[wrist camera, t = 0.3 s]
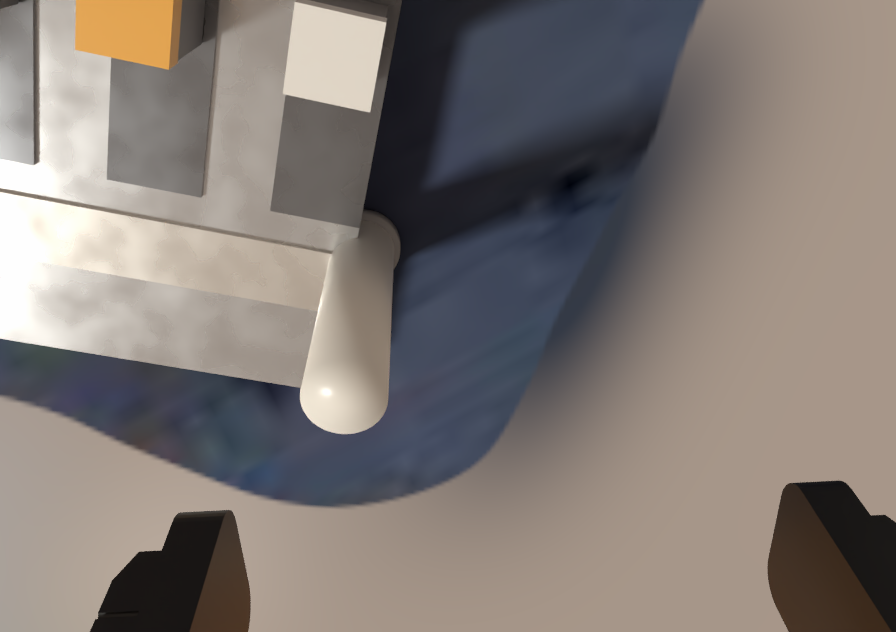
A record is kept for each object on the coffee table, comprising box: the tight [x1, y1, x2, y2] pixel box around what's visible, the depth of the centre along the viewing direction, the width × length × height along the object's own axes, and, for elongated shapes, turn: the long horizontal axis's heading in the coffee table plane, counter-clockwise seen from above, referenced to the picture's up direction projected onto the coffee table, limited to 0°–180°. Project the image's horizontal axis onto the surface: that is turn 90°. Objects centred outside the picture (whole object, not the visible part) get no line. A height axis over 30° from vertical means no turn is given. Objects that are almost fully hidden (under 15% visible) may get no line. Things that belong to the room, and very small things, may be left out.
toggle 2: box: [283, 0, 388, 112], centre depth 30 cm, size 3×3×5 cm
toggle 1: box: [75, 0, 205, 70], centre depth 29 cm, size 3×3×5 cm
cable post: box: [300, 209, 400, 434], centre depth 34 cm, size 4×4×14 cm
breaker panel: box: [0, 0, 402, 388], centre depth 35 cm, size 24×18×3 cm
